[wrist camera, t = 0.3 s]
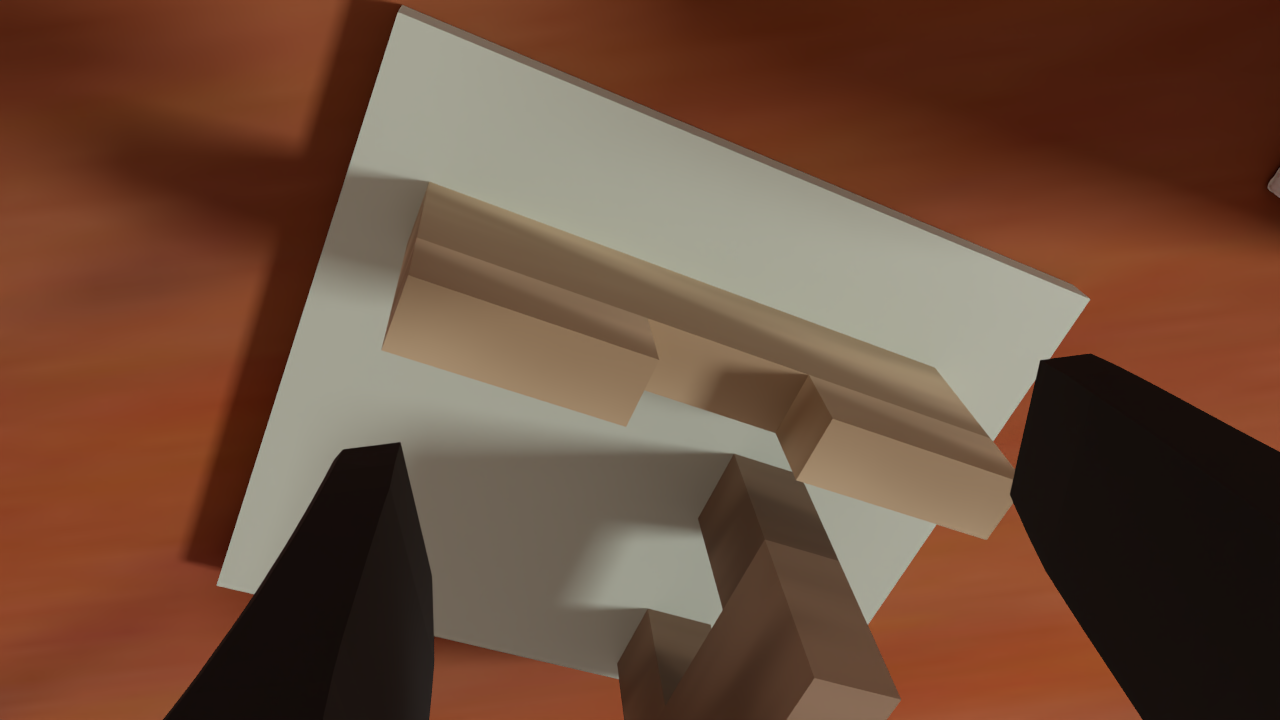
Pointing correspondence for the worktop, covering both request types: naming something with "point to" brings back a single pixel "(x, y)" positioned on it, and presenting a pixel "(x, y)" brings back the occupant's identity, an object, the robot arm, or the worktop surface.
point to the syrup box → (1275, 184)
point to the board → (659, 427)
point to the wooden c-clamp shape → (761, 620)
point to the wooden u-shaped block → (686, 359)
